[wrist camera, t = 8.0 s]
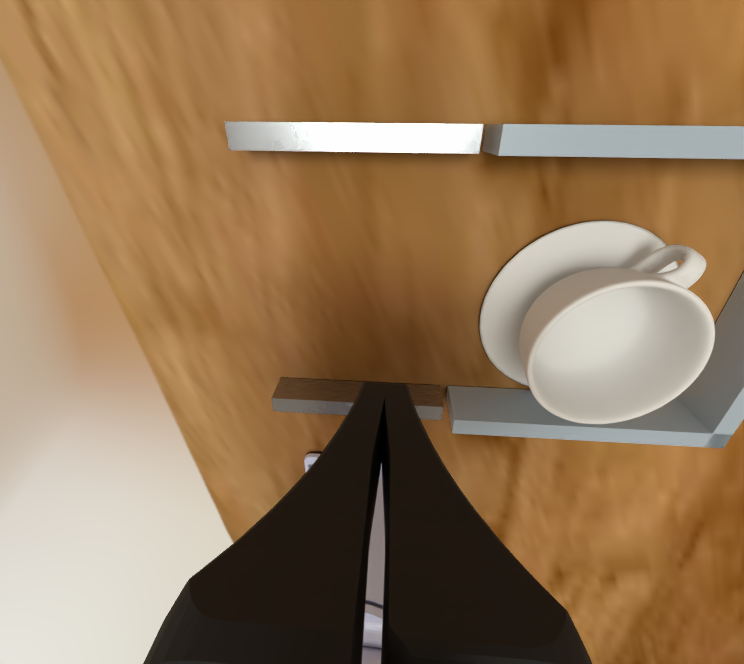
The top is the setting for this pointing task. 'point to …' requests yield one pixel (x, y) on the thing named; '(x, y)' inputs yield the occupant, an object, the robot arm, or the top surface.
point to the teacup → (599, 321)
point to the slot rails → (351, 139)
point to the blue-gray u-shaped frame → (732, 329)
